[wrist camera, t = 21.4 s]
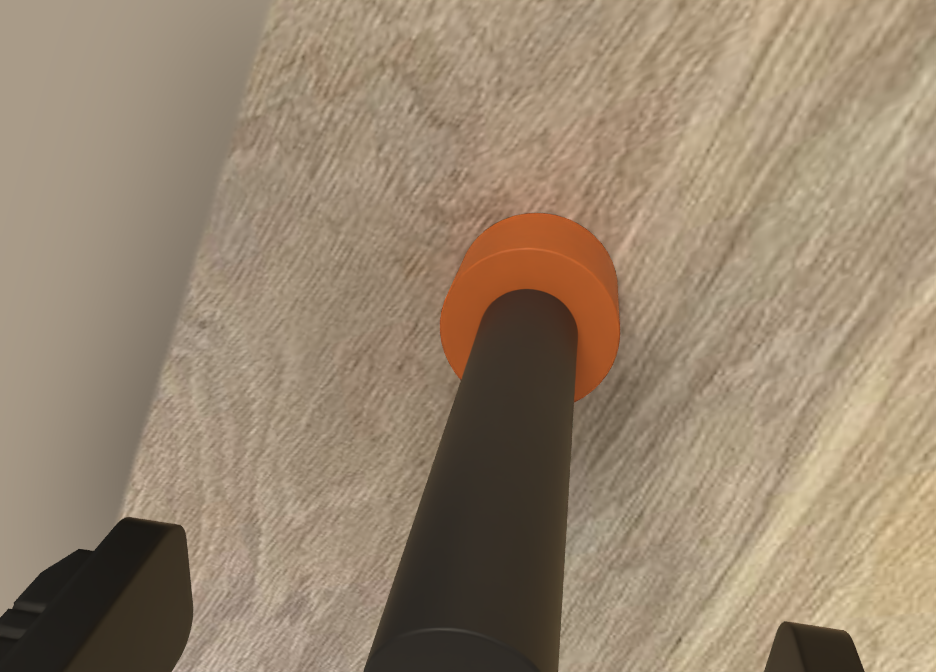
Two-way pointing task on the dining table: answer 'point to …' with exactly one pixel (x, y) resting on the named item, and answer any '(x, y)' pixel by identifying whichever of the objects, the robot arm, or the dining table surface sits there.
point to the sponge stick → (503, 454)
